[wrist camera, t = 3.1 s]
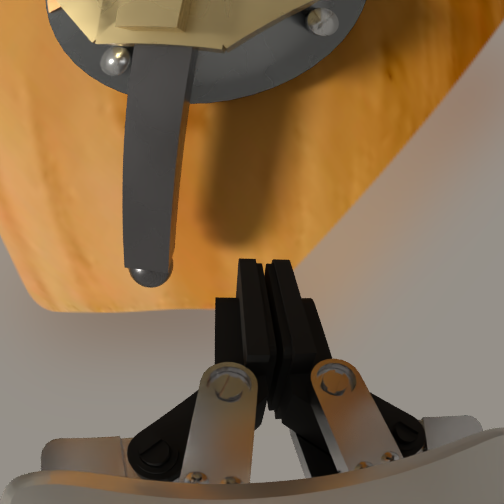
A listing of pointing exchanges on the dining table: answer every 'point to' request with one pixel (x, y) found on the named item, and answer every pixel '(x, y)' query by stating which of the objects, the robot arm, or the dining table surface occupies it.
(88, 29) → the castle nut fixture
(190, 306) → the dining table surface
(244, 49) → the cap plate
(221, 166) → the dining table surface
